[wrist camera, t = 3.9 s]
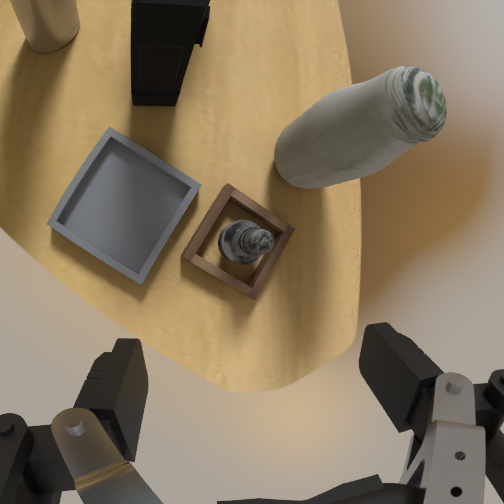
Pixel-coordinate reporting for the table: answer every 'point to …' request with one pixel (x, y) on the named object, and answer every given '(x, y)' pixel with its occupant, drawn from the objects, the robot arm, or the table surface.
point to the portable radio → (163, 47)
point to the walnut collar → (269, 258)
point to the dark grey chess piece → (244, 242)
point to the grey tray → (123, 205)
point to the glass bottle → (360, 128)
